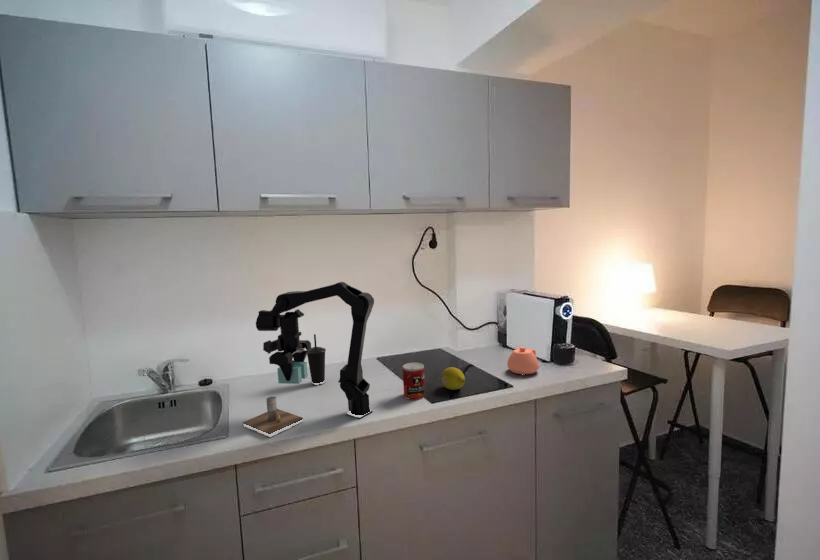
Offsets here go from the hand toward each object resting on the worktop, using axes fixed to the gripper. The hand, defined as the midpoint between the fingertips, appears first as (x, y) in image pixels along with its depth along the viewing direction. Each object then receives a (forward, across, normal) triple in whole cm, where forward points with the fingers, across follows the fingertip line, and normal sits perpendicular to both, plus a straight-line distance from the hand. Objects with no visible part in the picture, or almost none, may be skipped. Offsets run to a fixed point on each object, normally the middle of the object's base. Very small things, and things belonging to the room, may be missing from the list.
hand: (293, 376), depth 135 cm
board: (+12, +10, -3) cm, 16 cm away
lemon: (+12, -22, +51) cm, 57 cm away
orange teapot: (+12, -43, +79) cm, 91 cm away
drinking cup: (+12, -26, -3) cm, 29 cm away
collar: (+1, 0, 0) cm, 1 cm away
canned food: (+12, -16, +38) cm, 43 cm away
